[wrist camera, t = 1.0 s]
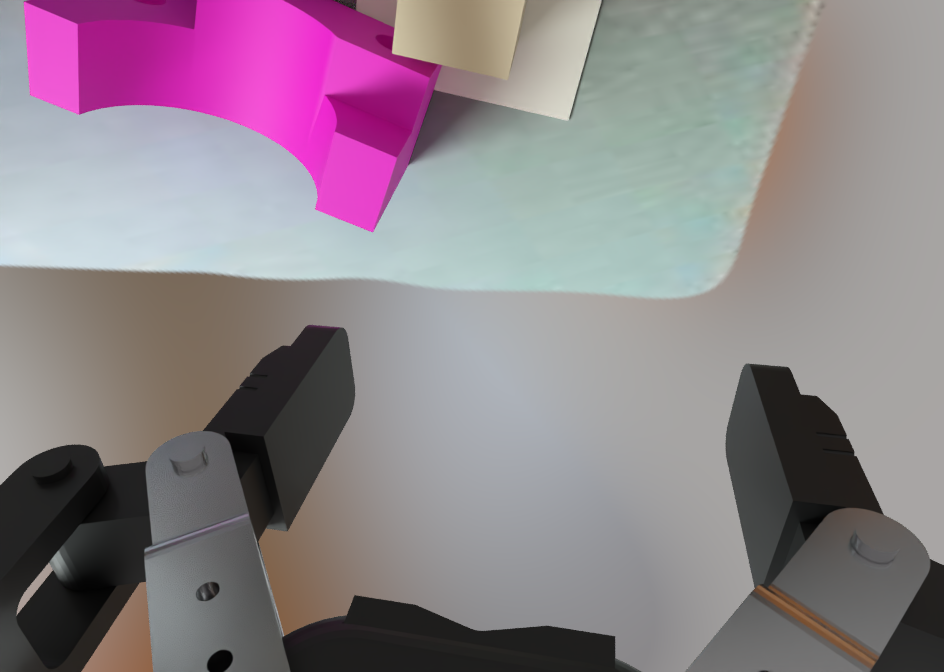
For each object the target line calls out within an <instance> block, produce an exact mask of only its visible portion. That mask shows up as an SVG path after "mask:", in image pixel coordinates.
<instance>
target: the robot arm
mask: <svg viewBox="0 0 944 672" xmlns="http://www.w3.org/2000/svg"><path fill="white" fill-rule="evenodd" d="M354 399H355V384H354V377H353V370H352V363H351V356H350V349H349V342H348V336H347V333H346V330H345V329H344V328H340V327H328V326H316V325H308V326H306V327H305V328H304V330H303V331H302V332H301V334H300V335H299V336H298V338H297V339H296V340H295V341H294V343H293V344H292V345H291V346H281V347H280V348H278V349H276V350H275V351H273V352H272V353H270V354H268V355H267V356H265V357H264V358H262V359H261V361H260V362H259V363H258V364H257V366H256V367H255V368H254V369H253V370H252V372H251V373H250V377H247V378H246V379H245V380H244V382H243V383H242V384H241V385H240V389H237V390H236V391H235V392H234V394H233V395H232V396H231V397H230V398H229V400H228V401H227V402H226V403H225V404H224V406H223V407H222V408H221V409H220V411H219V412H218V413H217V414H216V416H215V417H214V418H213V419H212V420H211V422H210V423H209V424H208V425H207V427H206V428H205V429H204V430H203V431H198V432H191V433H187V434H183V435H180V436H177V437H175V438H173V439H171V440H169V441H167V442H165V443H164V444H163V445H161V446H160V447H158V448H157V449H156V450H155V451H154V452H153V453H152V455H151V456H150V457H149V459H148V461H146V462H139V463H129V464H121V465H113V466H105V467H104V466H103V463H102V461H101V459H100V457H99V454H98V452H97V451H96V450H95V449H93V448H91V447H89V446H86V445H66V446H61V447H57V448H53V449H50V450H48V451H45V452H42V453H40V454H38V455H36V456H34V457H33V458H31V459H29V460H28V461H26V462H25V463H23V464H22V465H21V466H20V467H19V468H18V469H17V470H15V471H14V472H13V473H12V474H11V475H10V476H9V477H8V478H7V479H6V480H5V481H4V482H3V483H2V484H1V485H0V672H81V671H82V670H83V668H84V666H85V665H86V663H87V662H88V661H89V659H90V658H91V656H92V655H93V653H94V651H95V650H96V648H97V647H98V645H99V644H100V642H101V641H102V639H103V638H104V636H105V635H106V633H107V632H108V630H109V629H110V627H111V625H112V624H113V622H114V621H115V619H116V618H117V616H118V615H119V613H120V612H121V610H122V608H123V607H124V606H125V604H126V603H127V601H128V600H129V598H130V597H131V595H132V593H133V592H134V590H135V589H136V587H137V586H138V584H139V583H140V582H146V585H147V597H148V610H149V623H150V635H151V647H152V660H153V672H641V671H639V670H637V669H636V668H634V667H632V666H630V665H628V664H627V663H624V662H622V661H620V660H618V659H615V636H609V635H602V634H596V633H590V632H584V631H577V630H571V629H564V628H558V627H552V626H540V627H527V628H515V629H503V630H491V631H477V630H473V629H470V628H468V627H465V626H463V625H461V624H458V623H456V622H454V621H451V620H449V619H447V618H444V617H442V616H440V615H438V614H435V613H433V612H431V611H428V610H426V609H424V608H421V607H419V606H417V605H413V604H406V603H400V602H394V601H387V600H381V599H374V598H368V597H362V596H356V595H355V596H354V598H353V601H352V603H351V606H350V609H349V611H348V614H347V616H338V617H334V618H329V619H324V620H321V621H318V622H315V623H311V624H309V625H306V626H304V627H302V628H299V629H297V630H295V631H293V632H291V633H289V634H288V635H286V636H284V634H283V630H282V627H281V623H280V619H279V616H278V612H277V608H276V605H275V601H274V598H273V594H272V590H271V587H270V583H269V579H268V575H267V572H266V568H265V564H264V561H263V557H262V554H261V550H260V546H259V543H258V541H259V539H260V537H261V536H262V534H263V532H264V530H265V529H266V528H267V529H274V530H282V531H288V529H289V528H290V526H291V524H292V522H293V520H294V518H295V517H296V515H297V513H298V511H299V509H300V507H301V505H302V504H303V502H304V500H305V498H306V496H307V494H308V493H309V491H310V489H311V487H312V485H313V483H314V481H315V480H316V478H317V476H318V474H319V472H320V471H321V469H322V467H323V465H324V463H325V461H326V459H327V457H328V456H329V454H330V452H331V450H332V448H333V447H334V445H335V443H336V441H337V439H338V437H339V435H340V434H341V432H342V430H343V428H344V426H345V424H346V422H347V421H348V419H349V417H350V415H351V412H352V409H353V405H354ZM846 436H847V435H846V433H845V431H844V428H843V426H842V424H841V422H840V420H839V418H838V416H837V414H836V413H835V412H834V411H833V410H831V409H830V408H829V407H828V406H827V405H826V404H825V403H824V402H823V401H822V400H821V399H820V398H818V397H817V396H810V395H801V394H800V392H799V390H798V387H797V384H796V382H795V380H794V377H793V375H792V372H791V370H790V369H789V368H788V367H781V366H769V365H757V364H746V365H745V366H744V367H743V369H742V372H741V375H740V379H739V384H738V387H737V391H736V395H735V399H734V403H733V407H732V411H731V415H730V418H729V422H728V427H727V433H726V457H727V462H728V467H729V472H730V476H731V481H732V485H733V490H734V495H735V499H736V504H737V508H738V513H739V517H740V522H741V527H742V531H743V536H744V540H745V545H746V549H747V554H748V559H749V564H750V568H751V573H752V578H753V582H754V587H755V589H754V590H753V591H752V592H751V593H750V594H749V595H748V597H747V598H746V599H745V600H744V602H743V603H742V604H741V605H740V606H739V608H738V609H737V610H736V611H735V612H734V614H733V615H732V616H731V617H730V618H729V620H728V621H727V622H726V623H725V624H724V626H723V627H722V628H721V629H720V630H719V632H718V633H717V634H716V635H715V636H714V638H713V639H712V640H711V641H710V642H709V644H708V645H707V646H706V647H705V648H704V650H703V651H702V652H701V653H700V654H699V656H698V657H697V658H696V659H695V660H694V662H693V663H692V664H691V665H690V667H689V668H688V669H687V670H686V671H685V672H944V565H942V564H939V563H937V562H935V561H933V560H931V559H930V558H929V555H928V553H927V550H926V548H925V547H924V545H923V544H922V543H921V541H920V540H919V539H918V538H917V537H916V536H915V535H914V534H913V533H912V532H911V531H910V530H908V529H907V528H906V527H904V526H903V525H902V524H900V523H898V522H897V521H895V520H893V519H891V518H889V517H887V516H885V515H884V514H883V512H882V510H881V508H880V506H879V503H878V501H877V499H876V497H875V495H874V493H873V491H872V488H871V486H870V484H869V482H868V480H867V478H866V476H865V473H864V471H863V469H862V467H861V465H860V463H859V460H858V458H857V457H856V456H854V450H853V448H852V445H851V443H850V441H849V439H846ZM48 563H50V565H51V567H52V569H53V571H52V572H51V574H50V575H49V576H48V577H47V578H46V580H45V581H44V582H43V584H42V585H41V586H40V587H39V588H38V590H37V591H36V592H35V593H34V595H33V596H32V597H31V598H30V600H29V601H28V602H27V603H26V605H25V606H24V607H23V608H22V610H21V611H20V612H19V613H18V615H17V616H16V614H17V607H18V604H19V602H20V599H21V597H22V596H23V594H24V592H25V591H26V590H27V588H28V587H29V586H30V585H31V583H32V582H33V581H34V580H35V578H36V577H37V576H38V575H39V574H40V572H41V571H42V570H43V569H44V568H45V566H46V565H47V564H48Z"/></svg>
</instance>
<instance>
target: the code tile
mask: <svg viewBox="0 0 944 672" xmlns="http://www.w3.org/2000/svg"><path fill="white" fill-rule="evenodd" d="M601 1H602V0H527V4H526V8H525V13H524V18H523V22H522V27H521V32H520V36H519V41H518V45H517V49H516V52H515V56H514V60H513V63H512V67H511V71H510V74H509V78H508V80H505V79H501V78H497V77H492V76H488V75H484V74H479V73H475V72H470V71H466V70H462V69H457V68H453V67H449V66H444V65H442V67H441V70H440V73H439V76H438V79H437V82H436V84H435V87H434V90H436V91H440V92H445V93H449V94H453V95H458V96H462V97H466V98H471V99H475V100H480V101H484V102H488V103H493V104H497V105H502V106H506V107H510V108H515V109H519V110H523V111H528V112H532V113H537V114H541V115H545V116H550V117H554V118H559V119H563V120H567V121H568V120H569V116H570V113H571V109H572V106H573V102H574V98H575V95H576V91H577V88H578V84H579V80H580V77H581V73H582V70H583V66H584V62H585V59H586V55H587V52H588V48H589V44H590V41H591V37H592V34H593V30H594V26H595V23H596V19H597V15H598V12H599V8H600V5H601ZM396 9H397V0H357V1H356V11H358V12H360V13H363V14H365V15H367V16H369V17H372V18H374V19H376V20H378V21H381V22H383V23H385V24H387V25H390V26H392V27H394V28H395V19H396Z"/></svg>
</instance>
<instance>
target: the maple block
mask: <svg viewBox="0 0 944 672" xmlns="http://www.w3.org/2000/svg"><path fill="white" fill-rule="evenodd" d="M526 4H527V0H397V9H396V19H395V28H394V38H393V47H392V54H396V55H401V56H405V57H409V58H414V59H418V60H422V61H427V62H431V63H435V64H440V65H444V66H449V67H453V68H457V69H462V70H466V71H470V72H475V73H479V74H484V75H488V76H492V77H497V78H501V79H505V80H508V78H509V74H510V71H511V67H512V63H513V60H514V56H515V52H516V49H517V45H518V41H519V36H520V32H521V27H522V22H523V18H524V13H525V8H526Z"/></svg>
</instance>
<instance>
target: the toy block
mask: <svg viewBox="0 0 944 672" xmlns="http://www.w3.org/2000/svg"><path fill="white" fill-rule="evenodd" d="M24 11H25V26H26V41H27V56H28V72H29V87H30V95H31V96H34V97H36V98H39V99H41V100H44V101H46V102H49V103H51V104H54V105H56V106H59V107H61V108H64V109H66V110H69V111H71V112H74V113H76V114H79V115H80V114H83V113H85V112H88V111H92V110H96V109H100V108H107V107H113V106H124V105H154V106H166V107H175V108H181V109H187V110H192V111H197V112H202V113H206V114H210V115H214V116H217V117H220V118H224V119H227V120H230V121H232V122H235V123H238V124H240V125H243V126H245V127H248V128H250V129H252V130H254V131H256V132H259V133H261V134H262V135H264V136H266V137H268V138H270V139H272V140H273V141H275V142H276V143H278V144H280V145H281V146H282V147H284V148H285V149H287V150H288V151H289V152H290V153H292V154H293V155H294V156H295V157H296V158H297V159H298V160H299V161H300V162H301V163H302V164H303V165H304V166H305V167H306V169H307V170H308V171H309V173H310V174H311V176H312V178H313V180H314V182H315V185H316V188H317V194H318V199H317V204H316V208H315V209H316V210H318V211H321V212H323V213H326V214H328V215H331V216H333V217H336V218H338V219H341V220H343V221H346V222H348V223H351V224H353V225H356V226H358V227H361V228H363V229H366V230H368V231H371V232H373V231H374V229H375V227H376V226H377V224H378V222H379V220H380V218H381V216H382V214H383V212H384V210H385V208H386V207H387V205H388V203H389V201H390V199H391V197H392V195H393V193H394V191H395V189H396V187H397V186H398V184H399V182H400V180H401V178H402V176H403V174H404V172H405V170H406V168H407V167H408V164H409V161H410V158H411V155H412V152H413V149H414V146H415V143H416V140H417V138H418V135H419V132H420V129H421V126H422V123H423V120H424V117H425V114H426V111H427V108H428V105H429V102H430V99H431V96H432V93H433V90H434V87H435V84H436V82H437V79H438V76H439V73H440V70H441V67H442V65H440V64H435V63H431V62H427V61H422V60H418V59H414V58H409V57H405V56H401V55H396V54H392V47H393V38H394V27H392V26H390V25H387V24H385V23H383V22H381V21H378V20H376V19H374V18H372V17H369V16H367V15H365V14H363V13H360V12H358V11H356V10H354V9H351V8H349V7H347V6H345V5H342V4H340V3H338V2H336V1H333V0H28V1H24Z"/></svg>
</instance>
